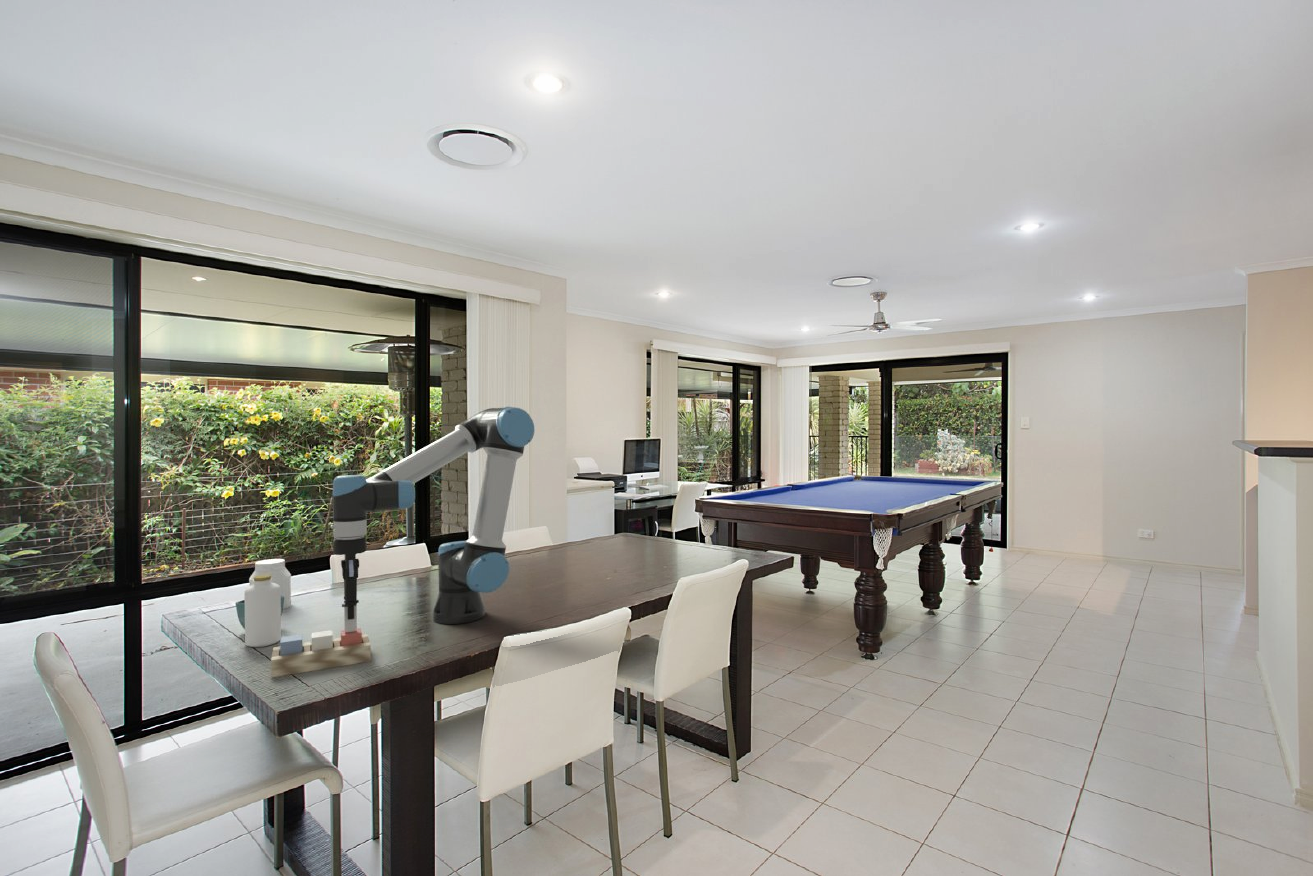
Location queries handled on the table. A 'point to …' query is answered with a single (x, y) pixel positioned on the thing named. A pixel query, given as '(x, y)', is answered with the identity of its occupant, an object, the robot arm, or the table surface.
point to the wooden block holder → (320, 657)
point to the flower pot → (241, 610)
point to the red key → (351, 637)
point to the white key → (322, 640)
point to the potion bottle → (262, 612)
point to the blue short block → (291, 645)
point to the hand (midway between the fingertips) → (350, 631)
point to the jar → (275, 576)
